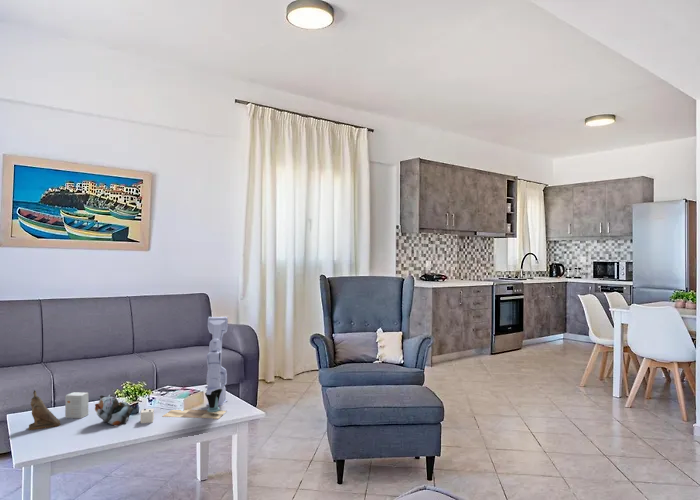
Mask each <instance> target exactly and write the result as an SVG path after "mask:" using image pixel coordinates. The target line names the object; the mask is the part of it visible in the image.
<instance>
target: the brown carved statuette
mask: <svg viewBox="0 0 700 500" xmlns="http://www.w3.org/2000/svg"><path fill="white" fill-rule="evenodd" d="M32 395H33V396H32V398H31V399H30V406H31V416H32V418H33V420H34V421H33V422H32V423H30V424H29V425H28V431H34V430H43V429H50V428H57V427H60V426H61V421H60V419H59V418H57V416H56V415H54V413H53V412H51V411H50V409H48V408H47V406H46V405H45V403H44V401H43V400H42V398H41V397H40V396H38V395H37V392H36V390H33V394H32Z"/></svg>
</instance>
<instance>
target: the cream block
mask: <svg viewBox="0 0 700 500" xmlns="http://www.w3.org/2000/svg"><path fill="white" fill-rule="evenodd" d="M154 419H155V408H143V409H141V411H140V424H149V423H150V424H151V423H153V422H154Z"/></svg>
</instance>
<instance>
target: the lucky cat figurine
mask: <svg viewBox="0 0 700 500" xmlns="http://www.w3.org/2000/svg"><path fill="white" fill-rule="evenodd" d="M94 411H95V412H96V416H98V418H99V419H101V420H102V422H103V423H104V422H105V423H108V424H110V425H112V426H115V427H116V426H120V425H121V426H122V425H124V424H126V423H127V422H128V421H129V419H130V415H131V414H132V413H133V411H134V408H133V407H131V405H130V404H129V403H127V402H126V401H119V400H118V399H117V398H116V397H114V396H113V395H112V394H108V396H106V395H100V396H99V400H98V402H97V403H95V404H94Z"/></svg>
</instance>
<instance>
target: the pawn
mask: <svg viewBox="0 0 700 500" xmlns="http://www.w3.org/2000/svg"><path fill="white" fill-rule="evenodd" d="M220 409H221V408H220V406H218V397H216V401H215V407H214V408H210V407H209V406H208V408H207V409H206V410H207V412H218V411H221V410H220Z"/></svg>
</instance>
